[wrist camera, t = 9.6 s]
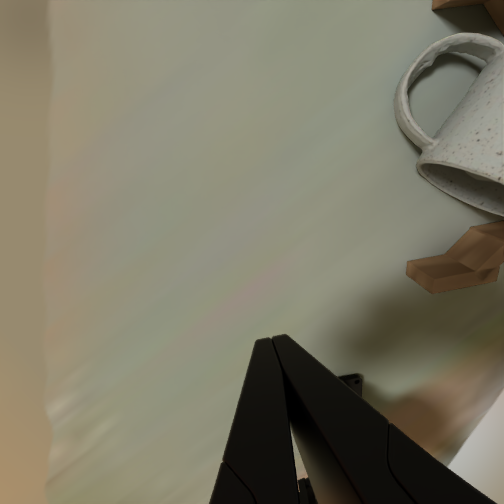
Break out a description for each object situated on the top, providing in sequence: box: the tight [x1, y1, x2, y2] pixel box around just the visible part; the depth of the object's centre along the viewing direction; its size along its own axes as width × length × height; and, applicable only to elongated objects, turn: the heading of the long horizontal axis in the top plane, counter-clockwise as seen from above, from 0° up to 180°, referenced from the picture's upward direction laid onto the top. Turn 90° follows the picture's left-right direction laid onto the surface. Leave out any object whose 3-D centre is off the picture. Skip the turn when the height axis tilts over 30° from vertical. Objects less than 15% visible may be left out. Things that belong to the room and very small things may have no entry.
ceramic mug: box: [394, 33, 504, 217], centre depth 16 cm, size 11×8×8 cm
